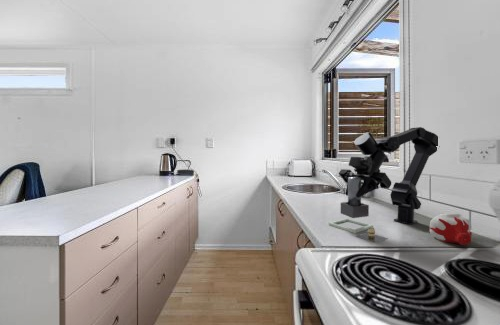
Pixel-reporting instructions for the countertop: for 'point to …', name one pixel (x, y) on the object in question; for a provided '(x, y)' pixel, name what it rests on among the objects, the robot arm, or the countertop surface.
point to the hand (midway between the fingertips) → (351, 195)
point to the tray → (350, 228)
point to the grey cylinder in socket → (354, 200)
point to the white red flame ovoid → (451, 228)
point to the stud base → (371, 236)
